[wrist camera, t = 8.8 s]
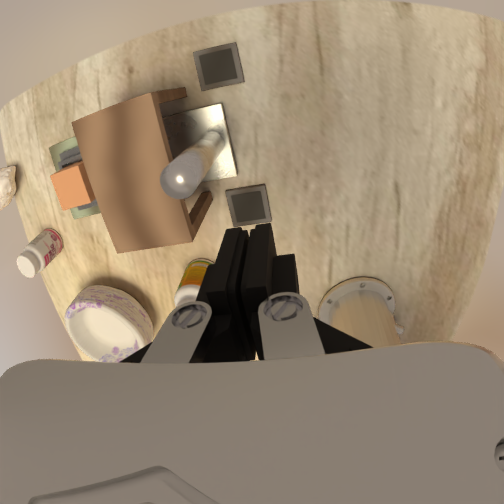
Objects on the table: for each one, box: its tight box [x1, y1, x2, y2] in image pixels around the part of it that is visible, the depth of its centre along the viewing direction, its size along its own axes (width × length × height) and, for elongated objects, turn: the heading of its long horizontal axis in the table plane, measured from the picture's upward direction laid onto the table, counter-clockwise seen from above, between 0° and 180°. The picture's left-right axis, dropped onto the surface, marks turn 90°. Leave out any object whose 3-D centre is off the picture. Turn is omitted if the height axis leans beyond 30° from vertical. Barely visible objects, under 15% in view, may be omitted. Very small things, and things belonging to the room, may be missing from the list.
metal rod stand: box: [58, 103, 238, 210], centre depth 32 cm, size 24×9×15 cm, turn 101°
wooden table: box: [49, 43, 271, 254], centre depth 34 cm, size 30×23×11 cm
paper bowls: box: [65, 285, 154, 363], centre depth 49 cm, size 15×15×8 cm
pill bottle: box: [17, 229, 63, 278], centre depth 43 cm, size 5×5×8 cm
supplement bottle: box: [174, 259, 214, 308], centre depth 43 cm, size 5×5×10 cm
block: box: [50, 160, 96, 210], centre depth 37 cm, size 5×5×5 cm
